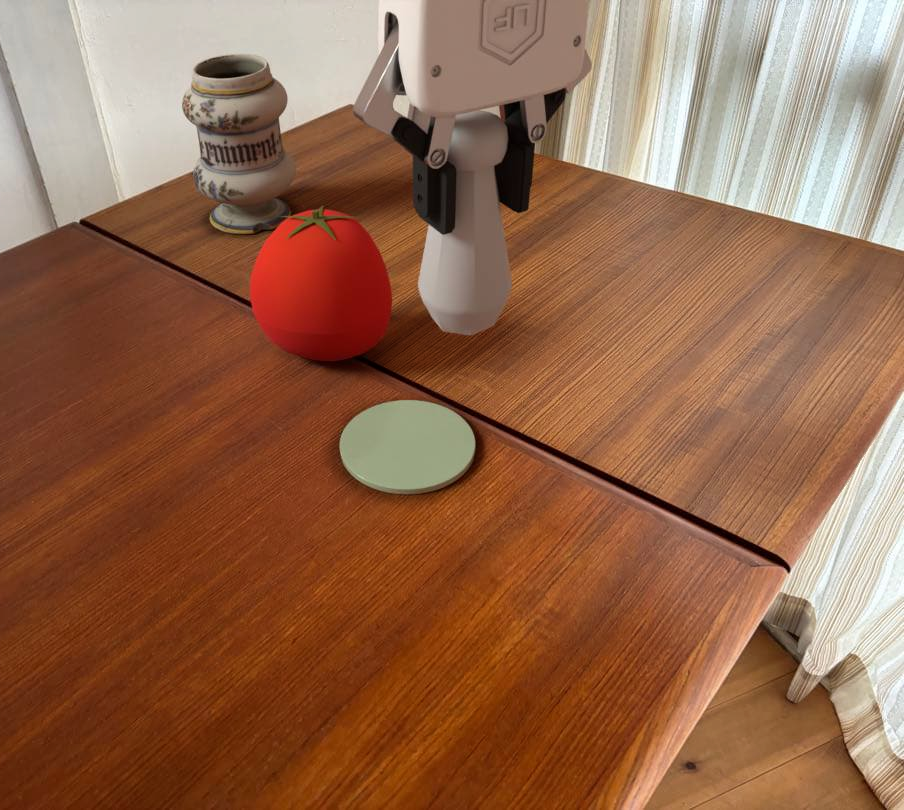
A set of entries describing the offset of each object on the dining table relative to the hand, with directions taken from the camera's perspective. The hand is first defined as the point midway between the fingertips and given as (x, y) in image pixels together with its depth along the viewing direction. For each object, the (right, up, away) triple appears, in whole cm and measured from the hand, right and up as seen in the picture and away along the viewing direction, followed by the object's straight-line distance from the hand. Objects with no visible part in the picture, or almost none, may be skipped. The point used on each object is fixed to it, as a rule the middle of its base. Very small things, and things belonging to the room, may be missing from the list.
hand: (472, 210), depth 49 cm
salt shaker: (0, -6, +5) cm, 8 cm away
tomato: (-10, -7, +31) cm, 33 cm away
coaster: (-3, -15, +20) cm, 25 cm away
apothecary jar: (-20, +12, +54) cm, 59 cm away
